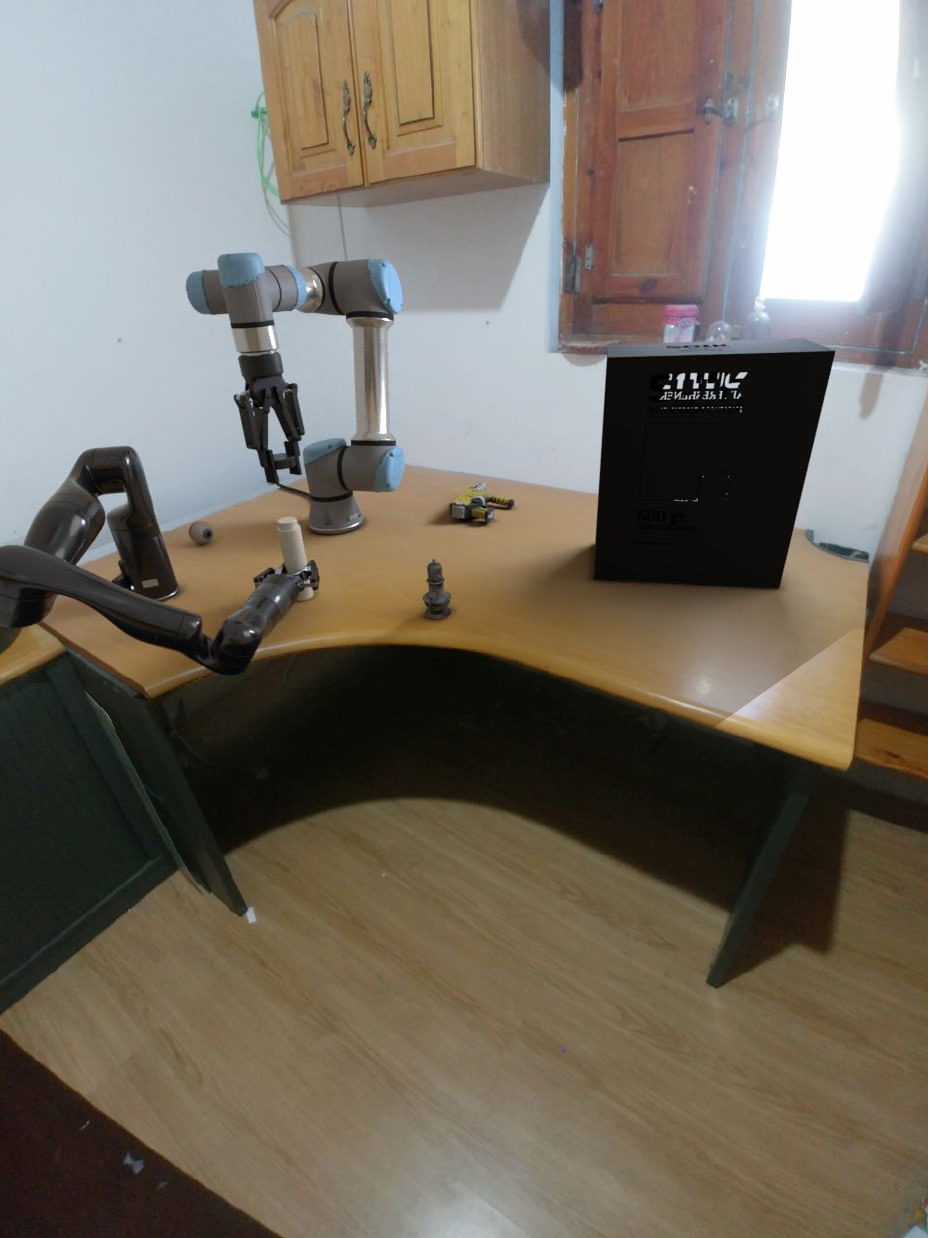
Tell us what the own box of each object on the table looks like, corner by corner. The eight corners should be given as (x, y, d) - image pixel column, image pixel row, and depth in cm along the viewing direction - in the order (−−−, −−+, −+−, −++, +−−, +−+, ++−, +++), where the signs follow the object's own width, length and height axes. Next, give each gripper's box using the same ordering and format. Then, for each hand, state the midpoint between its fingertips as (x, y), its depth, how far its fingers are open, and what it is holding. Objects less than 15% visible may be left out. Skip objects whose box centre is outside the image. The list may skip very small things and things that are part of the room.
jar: (298, 590, 135) (282, 515, 126) (317, 591, 134) (302, 516, 125) (288, 600, 131) (271, 523, 122) (307, 601, 130) (291, 524, 121)
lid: (270, 471, 116) (268, 462, 115) (265, 465, 121) (263, 455, 120) (299, 466, 118) (297, 457, 117) (292, 460, 123) (290, 451, 122)
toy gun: (522, 487, 180) (475, 480, 184) (500, 511, 160) (447, 502, 164) (521, 502, 182) (474, 495, 186) (499, 527, 162) (447, 519, 166)
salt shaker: (449, 620, 120) (445, 565, 114) (420, 618, 121) (415, 564, 115) (455, 606, 125) (451, 552, 119) (427, 604, 126) (422, 551, 120)
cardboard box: (759, 548, 141) (803, 338, 119) (779, 587, 124) (835, 350, 102) (595, 543, 149) (607, 344, 126) (593, 579, 132) (607, 357, 109)
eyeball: (202, 548, 159) (196, 527, 156) (187, 544, 162) (181, 523, 159) (221, 540, 163) (215, 519, 160) (206, 537, 166) (200, 516, 163)
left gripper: (241, 617, 120) (274, 578, 135) (310, 617, 118) (336, 579, 133) (232, 583, 116) (267, 547, 131) (303, 583, 114) (330, 547, 129)
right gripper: (282, 345, 117) (305, 463, 129) (202, 359, 104) (235, 489, 116) (310, 346, 114) (330, 467, 125) (230, 360, 101) (261, 494, 112)
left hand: (301, 563), depth 132 cm, fingers closed on jar, 4 cm apart
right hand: (284, 478), depth 121 cm, fingers closed on lid, 5 cm apart
